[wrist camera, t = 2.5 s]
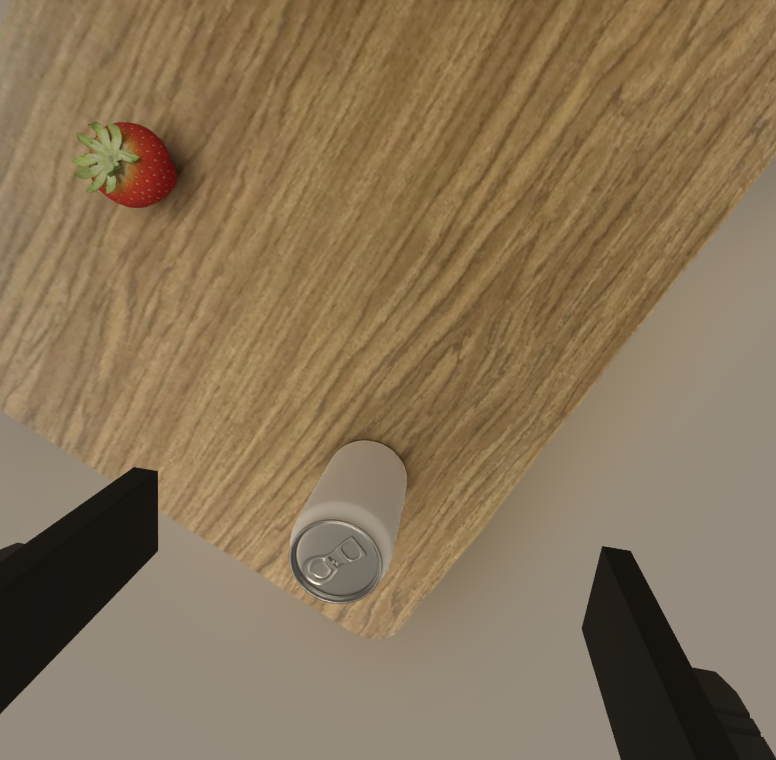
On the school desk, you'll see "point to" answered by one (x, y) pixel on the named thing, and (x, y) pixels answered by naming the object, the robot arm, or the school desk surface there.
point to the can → (349, 524)
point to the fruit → (127, 164)
